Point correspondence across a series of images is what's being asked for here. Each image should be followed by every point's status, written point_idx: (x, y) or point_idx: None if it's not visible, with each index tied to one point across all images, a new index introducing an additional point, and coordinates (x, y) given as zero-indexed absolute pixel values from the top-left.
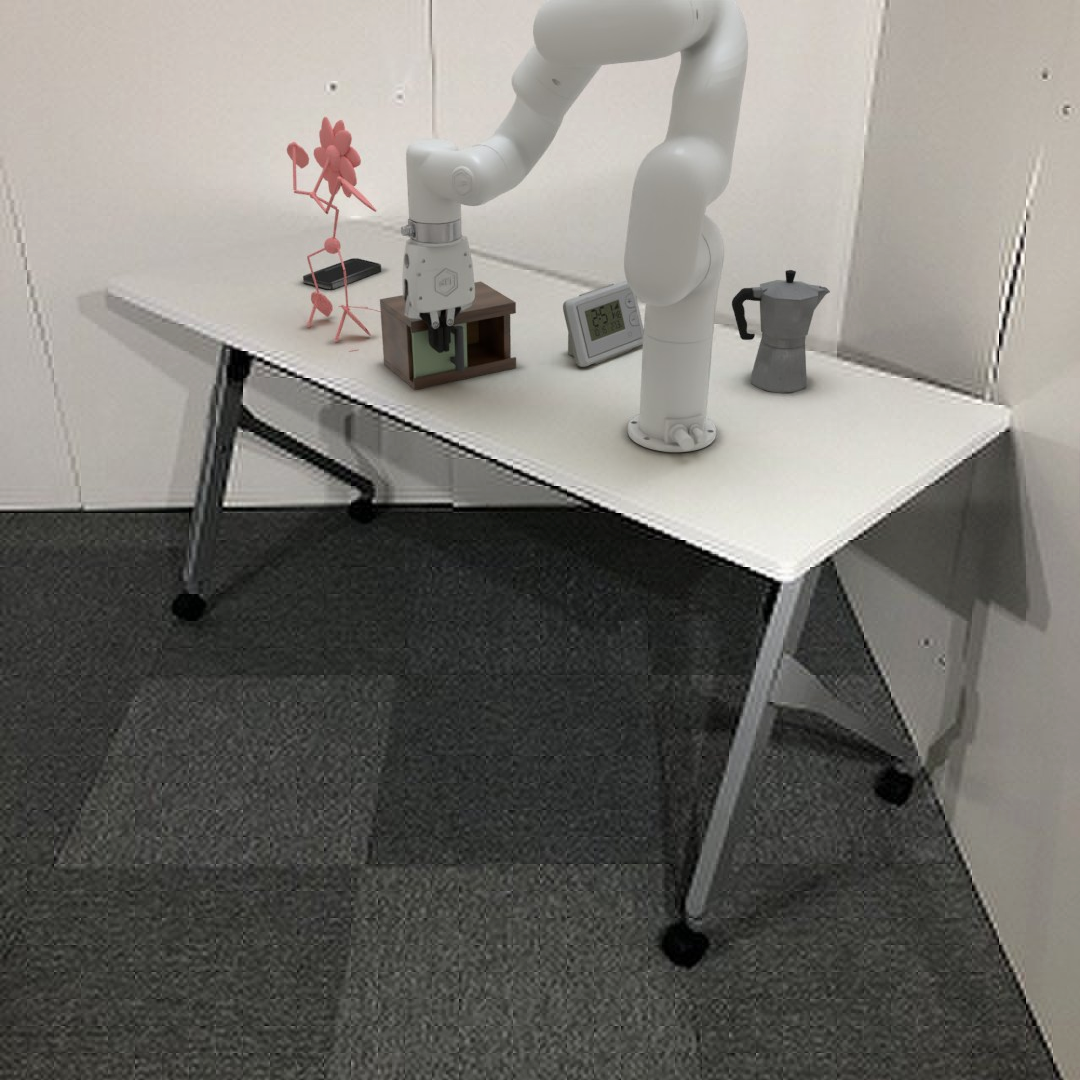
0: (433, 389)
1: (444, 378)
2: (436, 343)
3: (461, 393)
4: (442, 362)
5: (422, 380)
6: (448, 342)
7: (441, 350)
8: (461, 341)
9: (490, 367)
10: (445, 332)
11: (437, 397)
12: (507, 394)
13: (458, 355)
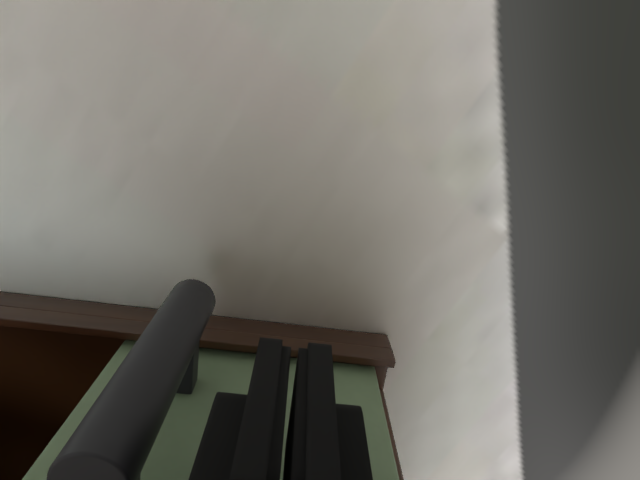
0: (325, 297)
1: (252, 330)
2: (336, 410)
3: (251, 197)
4: (240, 385)
5: (354, 348)
6: (256, 373)
7: (319, 349)
8: (131, 375)
9: (19, 308)
10: (270, 442)
11: (358, 222)
12: (71, 55)
13: (185, 328)
